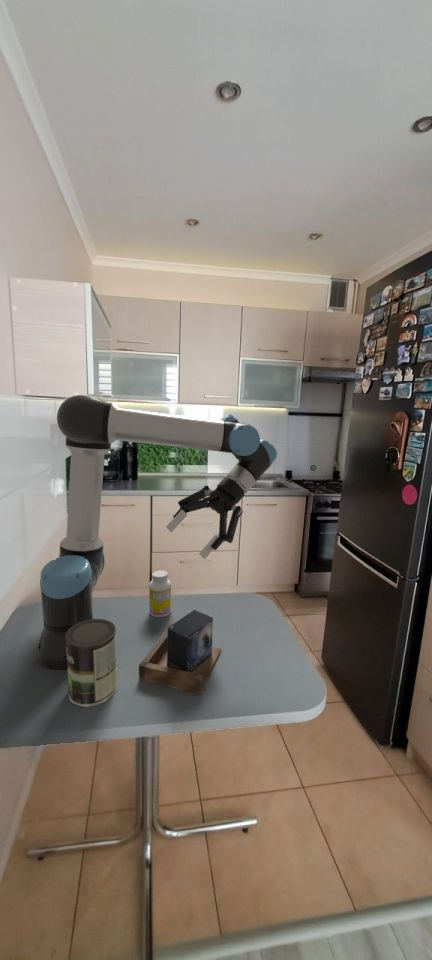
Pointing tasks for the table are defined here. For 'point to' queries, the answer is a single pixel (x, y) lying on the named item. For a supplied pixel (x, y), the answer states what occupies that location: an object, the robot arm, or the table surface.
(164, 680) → the corner tray
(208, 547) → the robot arm
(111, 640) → the coffee can
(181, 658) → the small box
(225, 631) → the table surface
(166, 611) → the supplement bottle
